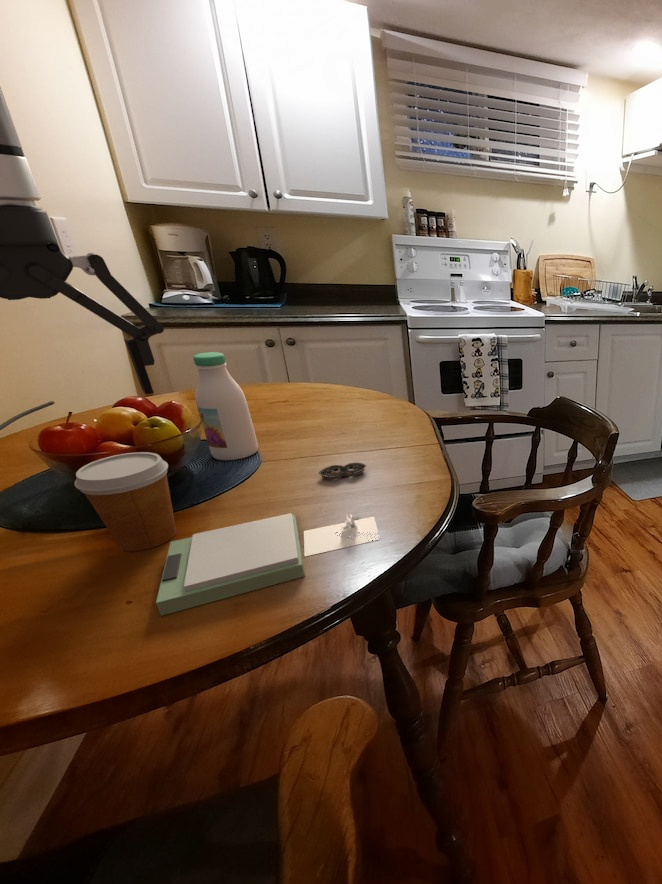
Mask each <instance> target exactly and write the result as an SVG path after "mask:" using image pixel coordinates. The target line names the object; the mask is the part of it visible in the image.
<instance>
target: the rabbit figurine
mask: <svg viewBox="0 0 662 884" xmlns="http://www.w3.org/2000/svg"><path fill="white" fill-rule="evenodd" d="M349 516H350V517H349ZM345 519H346V520H344V522H343V523H344V525H342V526H341V527H340V533H341V534H340V536H341V537H340V539H341V540H342V539H345V538H348V537H349V536H351V538H352V537H353V538H354V537H356V533H357V532H358V531H359V527H358V525H357V523H356V522H355V519H354V516H353V514H351V513H349V514H348V513H345Z"/></svg>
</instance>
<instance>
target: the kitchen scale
mask: <svg viewBox="0 0 662 884" xmlns="http://www.w3.org/2000/svg"><path fill="white" fill-rule="evenodd" d="M299 534H300V533H299V526H298V522H297V518H296V514H293V513H292V512H290V513H285V514H280V515H277V516H272V517H267V518H263V519H257V520H253V521H248V522H243V523H239V524H234V525H229V526H225V527H221V528H215V529H212V530H207V531H201V532H196V533H193V534H192V536H191V537H186V538H181V539H177V540H173V541H170V542H169V546H168V550H167V555H166V558H165V563H164V567H163V571H162V577H161V579H160V584H159V588H158V592H157V596H156V600H155V605H156V607H157V610H158V612H159V614H160V616H161V617H162V616H165V615H169V614H173V613H177V612H180V611H184V610H187V609H192V608H195V607H198V606H203V605H206V604H209V603H213V602H216V601H221V600H224V599H227V598H230V597H231V598H232V597H235V596H238V595H242V594H246V593H249V592H253V591H257V590H260V589H263V588H267V587H271V586H275V585H278V584H282V583H285V582H290V581H292V580H296V579H300V578H304V577H305V576H306V575H305V567H304V561H303V554H302V548H301V546H302V545H301V541H300V535H299Z"/></svg>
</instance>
